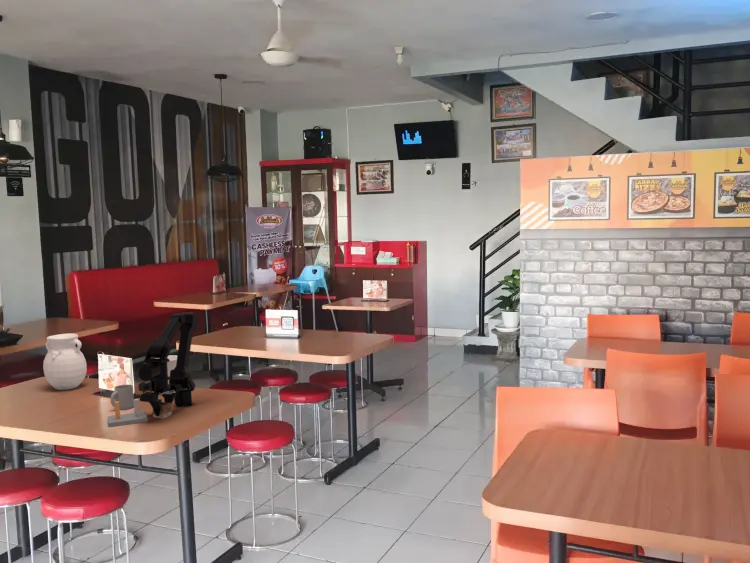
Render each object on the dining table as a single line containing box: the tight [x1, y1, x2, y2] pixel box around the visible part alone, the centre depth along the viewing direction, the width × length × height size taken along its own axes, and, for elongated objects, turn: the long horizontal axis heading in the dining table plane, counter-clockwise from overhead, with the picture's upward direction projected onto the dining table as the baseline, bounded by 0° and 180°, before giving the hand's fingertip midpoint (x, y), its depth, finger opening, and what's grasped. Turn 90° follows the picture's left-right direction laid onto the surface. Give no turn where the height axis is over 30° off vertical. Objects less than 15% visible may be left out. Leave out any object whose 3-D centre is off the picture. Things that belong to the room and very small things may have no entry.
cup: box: [110, 384, 135, 411], centre depth 272 cm, size 7×10×9 cm
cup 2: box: [157, 354, 178, 393], centre depth 295 cm, size 12×12×16 cm
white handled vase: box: [42, 332, 88, 391], centre depth 309 cm, size 19×18×25 cm
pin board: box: [107, 398, 149, 428], centre depth 254 cm, size 14×10×8 cm
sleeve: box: [152, 401, 173, 419], centre depth 259 cm, size 5×5×5 cm
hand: (162, 413), depth 260 cm, fingers open, 6 cm apart
